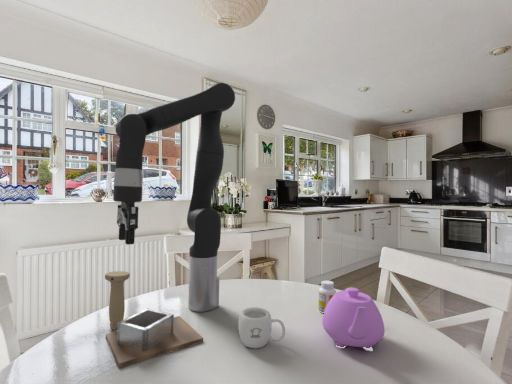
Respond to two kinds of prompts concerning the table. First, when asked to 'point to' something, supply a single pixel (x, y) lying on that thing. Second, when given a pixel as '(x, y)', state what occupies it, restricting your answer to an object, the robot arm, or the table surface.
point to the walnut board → (177, 340)
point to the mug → (257, 327)
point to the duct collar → (145, 329)
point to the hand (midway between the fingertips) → (126, 241)
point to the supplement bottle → (325, 294)
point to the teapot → (353, 319)
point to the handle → (116, 296)
